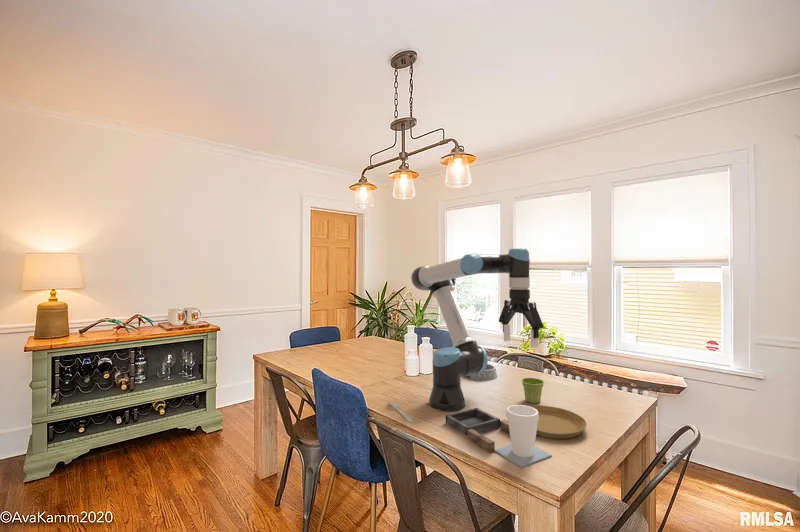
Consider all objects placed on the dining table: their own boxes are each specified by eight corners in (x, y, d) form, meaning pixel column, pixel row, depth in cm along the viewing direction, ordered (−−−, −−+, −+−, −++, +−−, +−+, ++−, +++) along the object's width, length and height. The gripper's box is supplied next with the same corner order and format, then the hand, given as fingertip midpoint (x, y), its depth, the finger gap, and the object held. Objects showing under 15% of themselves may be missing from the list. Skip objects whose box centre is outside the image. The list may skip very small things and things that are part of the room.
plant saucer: (550, 448, 118) (550, 438, 118) (501, 420, 140) (501, 411, 140) (602, 434, 128) (602, 424, 128) (549, 410, 150) (549, 402, 150)
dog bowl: (483, 370, 210) (483, 360, 210) (503, 378, 193) (503, 368, 193) (457, 373, 203) (457, 363, 203) (476, 383, 186) (476, 372, 186)
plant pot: (546, 405, 154) (546, 384, 154) (522, 404, 156) (522, 383, 156) (542, 397, 163) (542, 378, 163) (520, 396, 165) (520, 377, 165)
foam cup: (505, 456, 112) (504, 413, 112) (508, 442, 120) (508, 403, 120) (538, 462, 108) (537, 418, 108) (539, 448, 117) (538, 407, 117)
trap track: (443, 423, 137) (443, 415, 137) (478, 414, 145) (478, 407, 145) (489, 452, 115) (489, 443, 115) (528, 440, 123) (528, 431, 123)
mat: (494, 451, 116) (494, 449, 116) (524, 441, 122) (524, 440, 122) (521, 467, 106) (521, 466, 106) (551, 456, 112) (551, 454, 112)
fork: (407, 429, 139) (408, 422, 138) (385, 404, 157) (386, 398, 157) (414, 427, 140) (414, 420, 140) (391, 403, 159) (391, 397, 158)
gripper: (553, 289, 132) (554, 348, 132) (503, 287, 154) (503, 337, 154) (538, 290, 128) (539, 351, 128) (489, 287, 150) (490, 339, 150)
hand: (520, 343), depth 141 cm, fingers open, 13 cm apart
